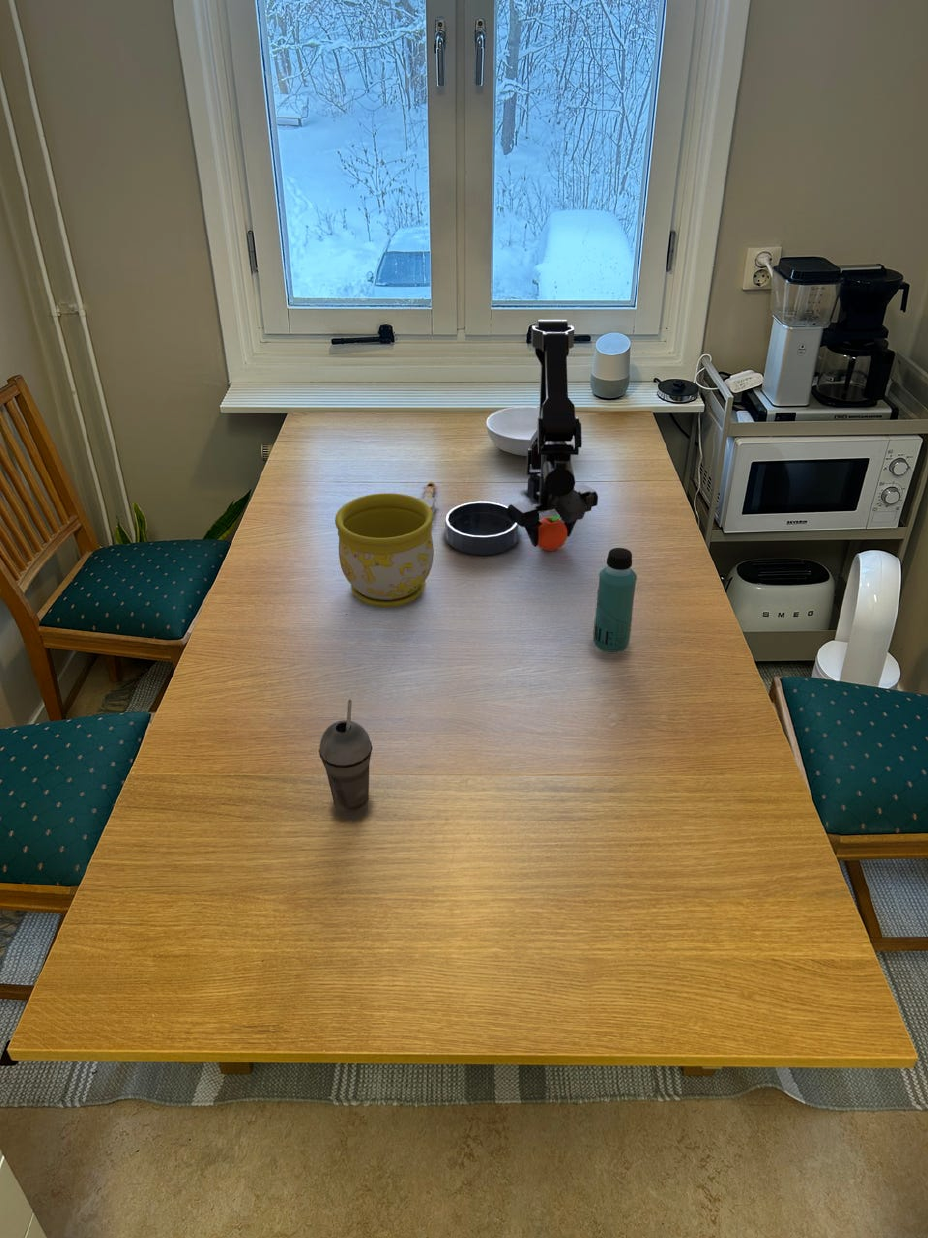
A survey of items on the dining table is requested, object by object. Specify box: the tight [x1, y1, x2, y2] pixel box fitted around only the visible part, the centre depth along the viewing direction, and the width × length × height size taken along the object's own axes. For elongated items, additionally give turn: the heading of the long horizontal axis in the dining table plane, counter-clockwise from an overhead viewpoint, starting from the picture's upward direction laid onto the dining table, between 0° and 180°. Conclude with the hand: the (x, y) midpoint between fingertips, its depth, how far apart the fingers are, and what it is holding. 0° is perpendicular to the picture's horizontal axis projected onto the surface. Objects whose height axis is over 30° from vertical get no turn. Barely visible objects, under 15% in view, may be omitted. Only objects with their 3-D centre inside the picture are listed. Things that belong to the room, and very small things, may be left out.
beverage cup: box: [318, 699, 373, 821], centre depth 126 cm, size 7×7×20 cm
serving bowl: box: [485, 406, 539, 457], centre depth 229 cm, size 21×21×7 cm
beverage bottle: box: [592, 547, 638, 654], centre depth 156 cm, size 6×7×20 cm
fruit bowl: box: [444, 500, 520, 556], centre depth 193 cm, size 15×15×4 cm
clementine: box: [537, 515, 568, 552], centre depth 189 cm, size 8×7×7 cm
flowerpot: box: [334, 492, 435, 609], centre depth 173 cm, size 18×18×16 cm
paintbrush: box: [417, 481, 436, 514], centre depth 204 cm, size 4×3×20 cm
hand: (551, 541), depth 190 cm, fingers closed on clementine, 8 cm apart
